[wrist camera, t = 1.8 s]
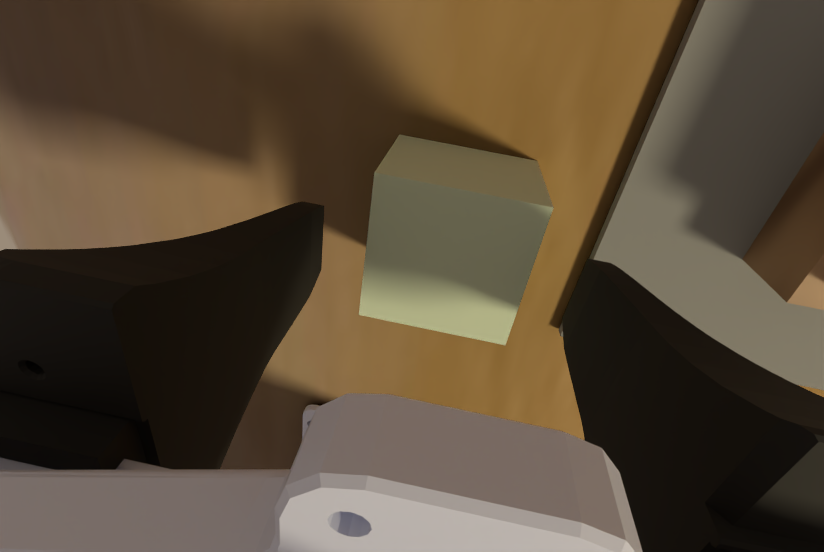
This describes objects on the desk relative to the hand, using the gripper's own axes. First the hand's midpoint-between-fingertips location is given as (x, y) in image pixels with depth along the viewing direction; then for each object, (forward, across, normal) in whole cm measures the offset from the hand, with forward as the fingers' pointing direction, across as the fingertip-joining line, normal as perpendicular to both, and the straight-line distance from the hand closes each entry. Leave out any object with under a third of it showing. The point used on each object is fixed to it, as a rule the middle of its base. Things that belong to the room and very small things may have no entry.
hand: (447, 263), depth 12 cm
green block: (+4, 0, 0) cm, 4 cm away
